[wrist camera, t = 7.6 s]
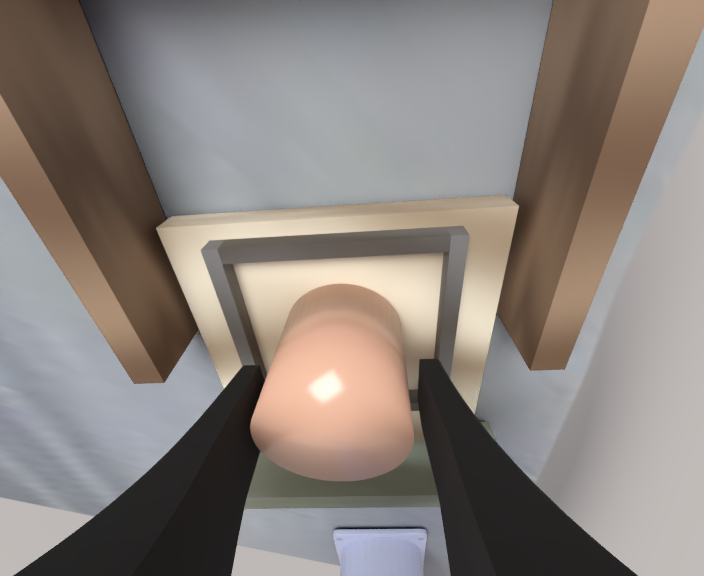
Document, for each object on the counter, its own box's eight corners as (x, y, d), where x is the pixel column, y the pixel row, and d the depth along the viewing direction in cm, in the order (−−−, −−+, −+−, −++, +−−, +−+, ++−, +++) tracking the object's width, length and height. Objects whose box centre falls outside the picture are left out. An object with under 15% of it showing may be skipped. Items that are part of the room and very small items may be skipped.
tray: (484, 432, 20) (510, 506, 17) (236, 437, 21) (212, 509, 17) (544, 192, 12) (619, 239, 9) (137, 218, 13) (56, 270, 9)
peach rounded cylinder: (400, 372, 15) (410, 483, 11) (295, 371, 16) (267, 479, 12) (403, 282, 13) (418, 385, 8) (277, 284, 13) (232, 384, 9)
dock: (518, 303, 15) (564, 369, 12) (181, 318, 16) (134, 383, 12) (663, -261, 7) (947, -578, 4) (-37, -166, 8) (-338, -348, 4)
